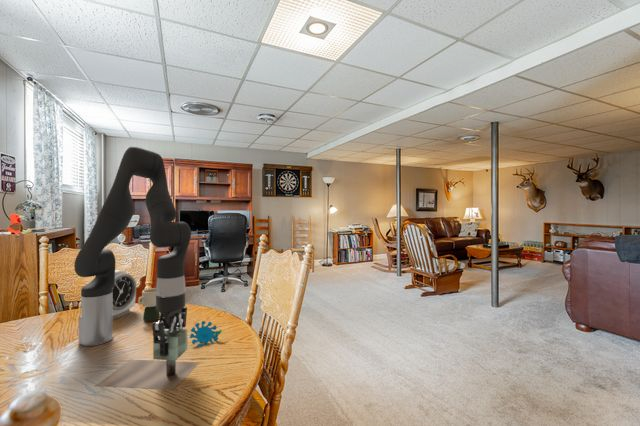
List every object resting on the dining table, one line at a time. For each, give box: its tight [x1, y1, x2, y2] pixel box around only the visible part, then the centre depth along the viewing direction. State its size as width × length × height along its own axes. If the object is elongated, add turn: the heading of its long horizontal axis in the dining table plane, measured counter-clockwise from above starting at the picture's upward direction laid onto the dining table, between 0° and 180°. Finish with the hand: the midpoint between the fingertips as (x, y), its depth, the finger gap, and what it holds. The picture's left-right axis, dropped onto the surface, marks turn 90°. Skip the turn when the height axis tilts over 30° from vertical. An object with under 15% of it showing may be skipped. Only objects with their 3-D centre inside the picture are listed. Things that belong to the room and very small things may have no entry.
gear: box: [189, 320, 223, 348], centre depth 110 cm, size 11×6×10 cm
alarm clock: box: [113, 269, 137, 320], centre depth 135 cm, size 18×8×20 cm, turn 170°
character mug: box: [137, 287, 161, 322], centre depth 131 cm, size 11×7×13 cm, turn 145°
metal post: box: [165, 360, 177, 377], centre depth 87 cm, size 2×2×8 cm
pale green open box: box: [152, 328, 188, 361], centre depth 87 cm, size 6×6×6 cm
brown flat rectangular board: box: [95, 359, 200, 391], centre depth 88 cm, size 22×14×1 cm, turn 86°
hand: (170, 349), depth 87 cm, fingers closed on pale green open box, 6 cm apart
